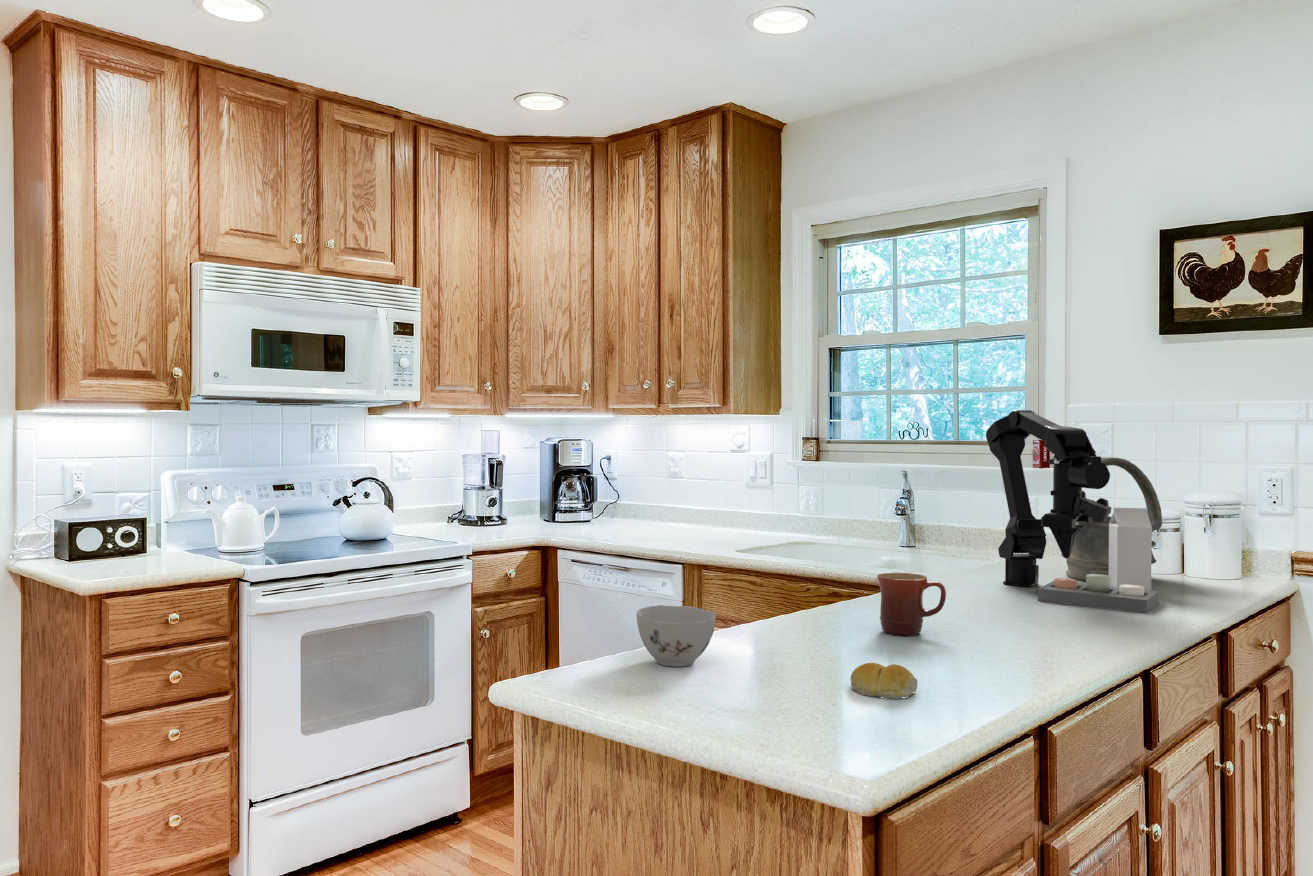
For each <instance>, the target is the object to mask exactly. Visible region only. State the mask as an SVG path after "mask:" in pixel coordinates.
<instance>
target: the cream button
mask: <svg viewBox="0 0 1313 876" xmlns="http://www.w3.org/2000/svg"><path fill="white" fill-rule="evenodd" d="M1119 594H1123V595H1132V596H1141V597H1144V587H1143V586H1138V585H1119Z"/></svg>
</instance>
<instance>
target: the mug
mask: <svg viewBox="0 0 1313 876" xmlns="http://www.w3.org/2000/svg"><path fill="white" fill-rule="evenodd" d="M876 577H877V581H878V585H879V589H880V614H879V615H880V617H879V620H880V625H881V629H882V631H883V632H885V634H887V635H888V634H889V635H891V634H892V635H893V636H897V635H898V636H899V637H912V636H911V635H913V636H917V635H918V634H920V633H921V632H922V629H923V623H924V618H927V617H928V618H929V617H932V616H935V615H936V614H938V613H940V611H942V609H943V608H944V606H945V603H946V599H947V598H946V597H947V589H946V587H945V585H944V584H942V582H939V581H936V580H935V581H934V580H928V577H927V576H926V575H923V574H919V573H913V572H900V571H899V572H898V571H897V572H895V571H894V572H890V571H889V572H881V573H877V575H876ZM930 587H938V589H940V598H939V602H938V604H937V606H936V607H934V608H930V609H926V608H924V604H923V597H924V596H923V594H924V591H925V590H927V589H928V588H930ZM916 634H917V635H916Z"/></svg>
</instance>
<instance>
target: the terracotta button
mask: <svg viewBox="0 0 1313 876" xmlns="http://www.w3.org/2000/svg"><path fill="white" fill-rule="evenodd" d="M1053 581H1054V587H1057V588H1066V589H1077V583H1078V579H1074V578H1070V577H1069V578H1067V577H1066V578H1065V577H1058V578H1057V577H1056V578H1054V580H1053Z"/></svg>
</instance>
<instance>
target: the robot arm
mask: <svg viewBox="0 0 1313 876" xmlns="http://www.w3.org/2000/svg"><path fill="white" fill-rule="evenodd" d="M1030 435H1031V436H1034V437H1035V438H1038V439H1039V440H1041V441H1043V442H1044V447H1045V448H1046V449H1047V450H1048V451H1049V452H1050V453H1051V454H1052V455H1053V456H1052V458H1050V459H1049V460H1048V462H1047V463H1048V465H1052V466H1053V472H1052V473H1053V474H1052V475H1053V478H1052V481H1053V483H1052V484H1053V487H1052V488H1053V490H1050V496H1052V498H1053V499H1052V509H1051V508H1050V511H1049V512H1047V513H1044V515H1042V516H1041V517H1040V518H1036V517H1035V516H1034V515H1033V513H1032V512H1033V511H1032V507H1031V503H1030V497H1029V493H1028V487H1027V481H1026V476H1025V472H1024V467H1023V462H1022V454H1023V452H1024V449H1025V448H1026V440H1027V438H1029V437H1030ZM985 438H986V441H987V444H988V447H989V451H990V452H991V453H992V455H993V456H995V458H996V459H997V460H998V462H999V466H1000V472H1001V476H1002V482H1003V487H1004V492H1005V497H1006V498H1005V499H1006V505H1007V508H1008V513H1009V519H1008V522H1007V524H1006V527H1005V530H1004V531H1005V532H1004V534H1005V538H1004V539H1003V541H1002V542H1001V544H1000V545H999V547H997V548H998V550H997V551H998V554H999V558H1002V559H1004V560H1005V563H1004V564H1005V565H1004V566H1005V575H1004V576H1005V577H1004V578H1005V579H1004V581H1002V584H1003V585H1011V586H1012V585H1013V586H1020V587H1031V588H1032V587H1033V586H1036V585H1038V584H1039V576H1040V575H1039V574H1040V573H1039V572H1040V571H1039V568H1040V567H1039V565H1038V564H1037V560H1043V558H1044V554H1045V551H1046V545H1047V538H1046V537H1047V534H1046V531H1045V528H1048V529H1050V531H1051V534H1052V535H1053V537H1054V540H1055V542H1056V543H1057V546H1058V548H1059V550H1060V553H1061V554H1062V555H1063V557H1062V558H1063V559H1066V558H1070V555H1071V552H1072V548H1073V544H1074V541H1075V538H1076V534H1077V533H1078V532H1079V531H1080V530H1081V529H1083V528H1084V527H1085V526H1084V525H1078V522H1076V521H1086V523H1090V522H1092V518H1093V519H1095V520H1096V521H1098V522H1101V523H1103V522H1104V521H1105V522H1106V521H1107V518H1108V517H1110V514H1111V512H1112V510H1113V509H1112V508H1113V507H1112V506H1110V504H1109V500H1108V499H1105V498H1102V497H1099V498H1098V499H1097V500H1096V501H1095V500H1093V499H1090V498H1087V497H1086V495H1087V493H1086V492H1085V490H1083V488H1084V489H1093V490H1100V489H1103V488H1105V487H1106V486H1107V485H1108V483H1109V482H1110V477H1111V473H1110V470H1109V468H1108V466H1106V465H1105V464H1103V463H1102V462H1101V458H1102V456H1098V455H1097V454H1096V451H1095V449H1094V447H1093V445H1092V443H1091V441H1090V439H1089V437H1088V434H1087V432H1086V431H1085V430H1084V429H1083V428H1079V427H1073V426H1065V425H1064V426H1062V425H1059V424H1057V423H1055V422H1053V421H1051V420H1049V419H1047V418H1045V417H1043V416H1041V415H1038V414H1037V413H1035V412H1034V411H1032V410H1031V409H1014V410H1012V411H1010V413H1008V415H1006V416H1004V417H1001V418H1000V419H996V420H995V421H994V422H993V423H992V424H991V425H990V426H989V427H988V428H987V430H986V432H985Z"/></svg>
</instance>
